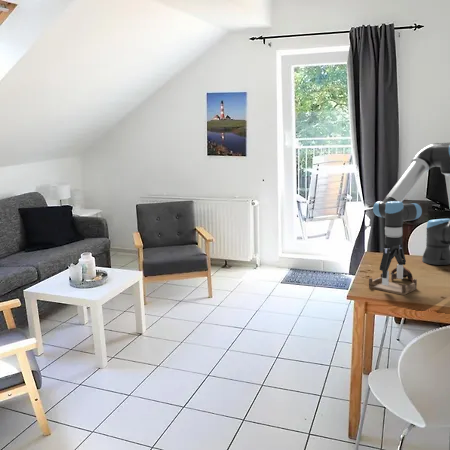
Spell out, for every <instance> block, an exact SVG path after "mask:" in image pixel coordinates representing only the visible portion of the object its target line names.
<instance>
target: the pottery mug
mask: <svg viewBox="0 0 450 450" xmlns="http://www.w3.org/2000/svg"><path fill="white" fill-rule="evenodd" d="M390 276H391V277H390V278H391V281H394V280H397V279H399V278H397V267H395V268H393V269H392V270H391V272H390ZM403 279H407V280H409V281H411V284H412V283H413V279H414V277H413V274H412V272H411V271H410V269H409V268H406V267H405V265H403Z"/></svg>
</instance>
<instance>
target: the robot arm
mask: <svg viewBox="0 0 450 450" xmlns="http://www.w3.org/2000/svg"><path fill="white" fill-rule="evenodd" d="M435 167H436V168H440V172H441V174H442V175H444V178H445V184H446V193H447V198H448V199H447V200H448V207H449V208H450V142H434V143H430V144H428V145H426V146H425V147H423V148H422V149H420V150H419V151H418V152H417V153H416V154H415V155H414V157H412V159H411V160H410V165H409V166H408V167H407V169H406V170H405V171H404V172H403V174H402V175H401V177H400V178H399V179H398V180H397V182H396V183H395V184H394V186H393V187H392V189H391V190H390V191H389V193H388V194H387V195H386V196H385V198H384V199H383V200H378V201H376V202H374V204H373V207H372V212H373V213H374V215H375V216H377V217H378V218H384V219H385V220H384V222H385V223H384V235H385V236H384V244H385V245H386V246H387V248H385V247H384V248H383V252H382V257H381V261H380V265H379V271H382V285H389V282H390V281H389V280H390V275H389V274H390V270H389V268H390V265H391V262H392V261H393V259H395V260H396V263H397V264H396V268H397V271H396V273H397V278H398V279H399V280H400V279H401V280H403V279H404V278H403V266H405V265H406V264H407V263H406V262H407V261H406V259H407V258H406V255H405V252H404V251H405V250H404V245H403V233H404V232H403V231H404V229H403V228H404V227H403V226H404V225H403V224H404V223H403V222H407V221H414V220H417V219H420V217H421V216H422V213H423V209H422V206H421V205H420V204H419V203H412V202H411V203H404V202H403V201H404V200H405V199H406V197H407V196H408V195H409V193H410V192H411V191H412V189H414V187H415V186H416V185H417V183H418V181H419V180H420V179H421V178H422V176H424V174H425V173H427V172H428V171H429V170H431V169H432V168H435ZM425 239H426V240H425V241H426V244H425V245H426V246H425V249H424V252H423V254H422V262H423V263H425V264H429V265H433V266H434V265H435V266H437V265H438V266H439V265H440V266H446V265H450V218H436V219H435V218H434V219H430V220H428V221H427V222H426V238H425Z"/></svg>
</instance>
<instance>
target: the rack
mask: <svg viewBox="0 0 450 450" xmlns="http://www.w3.org/2000/svg"><path fill="white" fill-rule="evenodd" d="M417 282H418V280H417V278H413V283H412V282H411V283H410V284H408V285H407V284H404V283H399V282H398V283H397V282H391V281H389V285H382V273H380V277H376V278H374V279H373V278H372V277H369V278H368V288H369V289H374V290H377V291H382V292H387V293H392V294H397V295H402V296H405V295H407V294H409V293H411V292H414V291H415V290H417V287H418V285H417V284H418V283H417Z"/></svg>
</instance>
